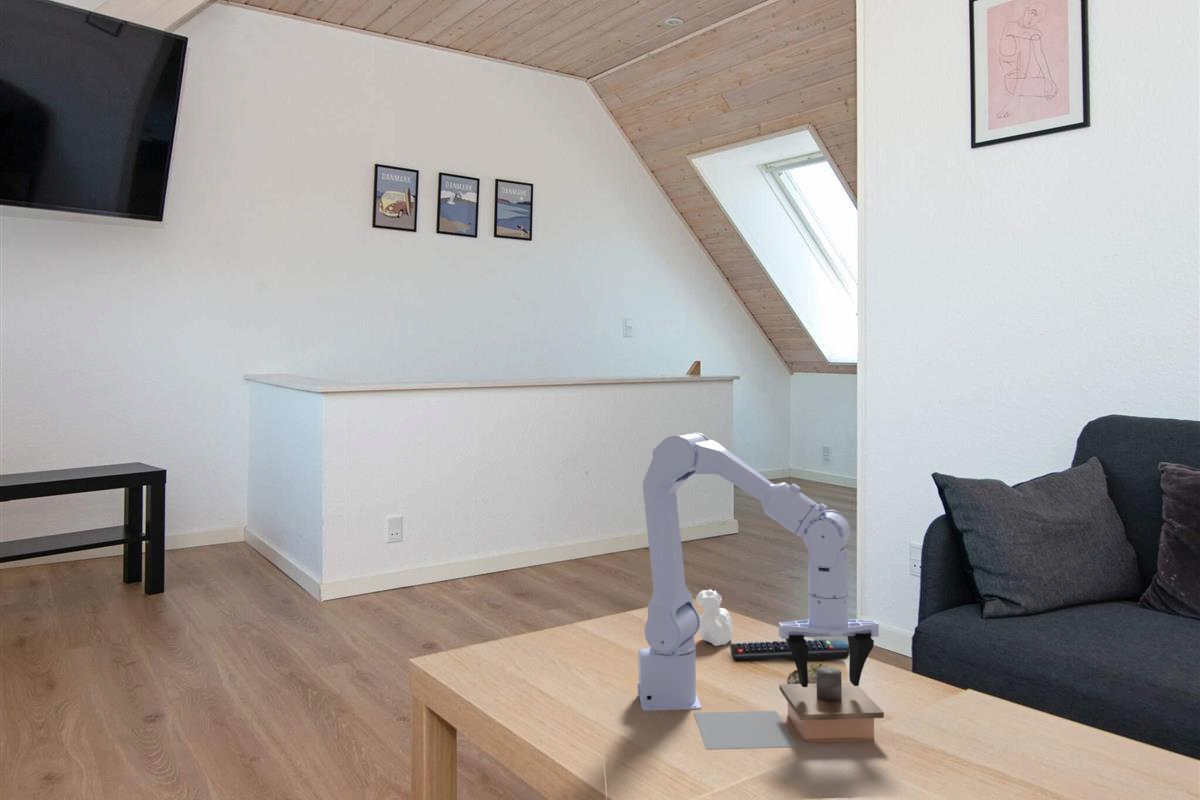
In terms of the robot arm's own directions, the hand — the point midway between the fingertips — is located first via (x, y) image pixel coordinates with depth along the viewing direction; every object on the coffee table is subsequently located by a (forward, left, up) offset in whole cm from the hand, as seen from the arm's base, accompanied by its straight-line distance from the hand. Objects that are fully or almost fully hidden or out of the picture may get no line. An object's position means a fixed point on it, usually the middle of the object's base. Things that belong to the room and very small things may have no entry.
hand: (828, 684), depth 125 cm
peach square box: (0, 0, -7) cm, 7 cm away
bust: (-10, +44, -7) cm, 46 cm away
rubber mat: (-13, 0, -7) cm, 15 cm away
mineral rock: (+2, +19, -7) cm, 20 cm away
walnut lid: (0, 0, -3) cm, 3 cm away
